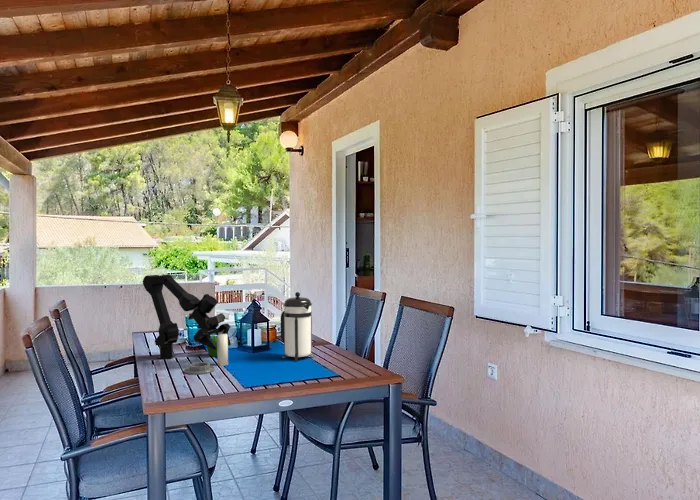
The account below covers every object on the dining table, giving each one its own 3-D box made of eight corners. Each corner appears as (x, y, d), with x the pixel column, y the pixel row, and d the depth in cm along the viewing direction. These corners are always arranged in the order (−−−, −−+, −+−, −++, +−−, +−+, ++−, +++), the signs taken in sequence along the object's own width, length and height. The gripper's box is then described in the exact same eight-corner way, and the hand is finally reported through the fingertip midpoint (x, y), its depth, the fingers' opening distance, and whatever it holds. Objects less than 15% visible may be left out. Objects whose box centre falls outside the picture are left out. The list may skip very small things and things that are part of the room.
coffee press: (317, 353, 249) (316, 290, 249) (311, 361, 233) (310, 293, 233) (281, 353, 251) (280, 290, 250) (273, 361, 235) (272, 293, 234)
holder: (189, 367, 225) (189, 361, 225) (217, 367, 225) (217, 361, 225) (180, 374, 213) (180, 368, 213) (209, 374, 213) (209, 368, 213)
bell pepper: (221, 353, 253) (221, 332, 252) (227, 356, 246) (227, 334, 246) (204, 355, 248) (203, 334, 248) (209, 358, 241) (209, 336, 241)
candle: (219, 363, 232) (218, 333, 232) (229, 363, 232) (228, 333, 232) (216, 365, 228) (216, 335, 227) (226, 365, 227) (226, 335, 227)
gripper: (197, 310, 223) (219, 338, 218) (226, 305, 240) (246, 331, 235) (184, 328, 227) (204, 356, 222) (213, 321, 243) (233, 347, 239)
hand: (223, 347), depth 229 cm, fingers open, 9 cm apart
